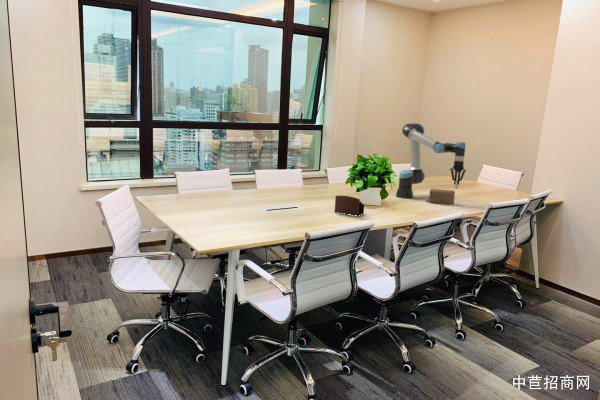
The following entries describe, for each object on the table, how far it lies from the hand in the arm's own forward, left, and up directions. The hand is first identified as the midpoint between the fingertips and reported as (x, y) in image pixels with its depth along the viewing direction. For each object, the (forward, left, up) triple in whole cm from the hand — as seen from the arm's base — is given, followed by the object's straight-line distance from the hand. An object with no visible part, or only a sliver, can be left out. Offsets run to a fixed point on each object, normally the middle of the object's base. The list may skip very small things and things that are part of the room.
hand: (456, 188), depth 388 cm
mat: (-12, 0, -13) cm, 18 cm away
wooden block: (0, -2, -8) cm, 8 cm away
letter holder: (-56, -87, -14) cm, 105 cm away
